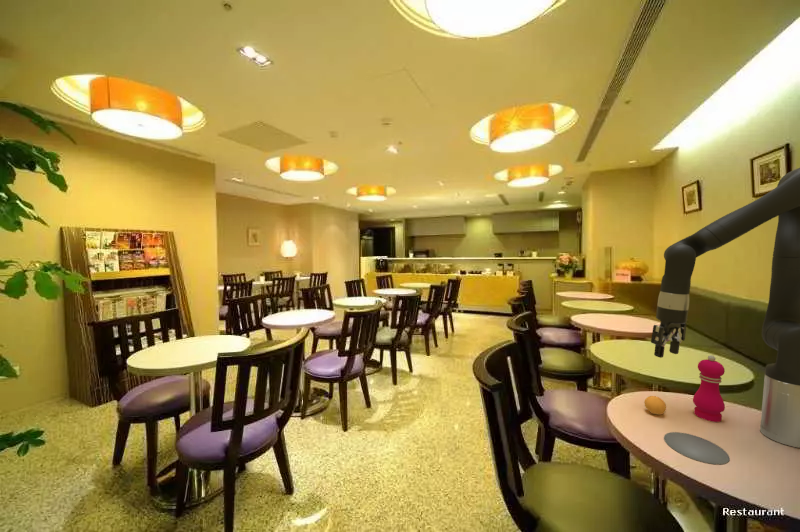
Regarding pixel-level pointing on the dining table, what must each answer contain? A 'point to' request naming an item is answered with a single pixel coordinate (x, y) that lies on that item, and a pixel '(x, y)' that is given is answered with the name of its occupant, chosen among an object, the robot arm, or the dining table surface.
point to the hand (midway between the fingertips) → (666, 354)
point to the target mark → (696, 448)
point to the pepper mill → (709, 391)
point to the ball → (655, 405)
